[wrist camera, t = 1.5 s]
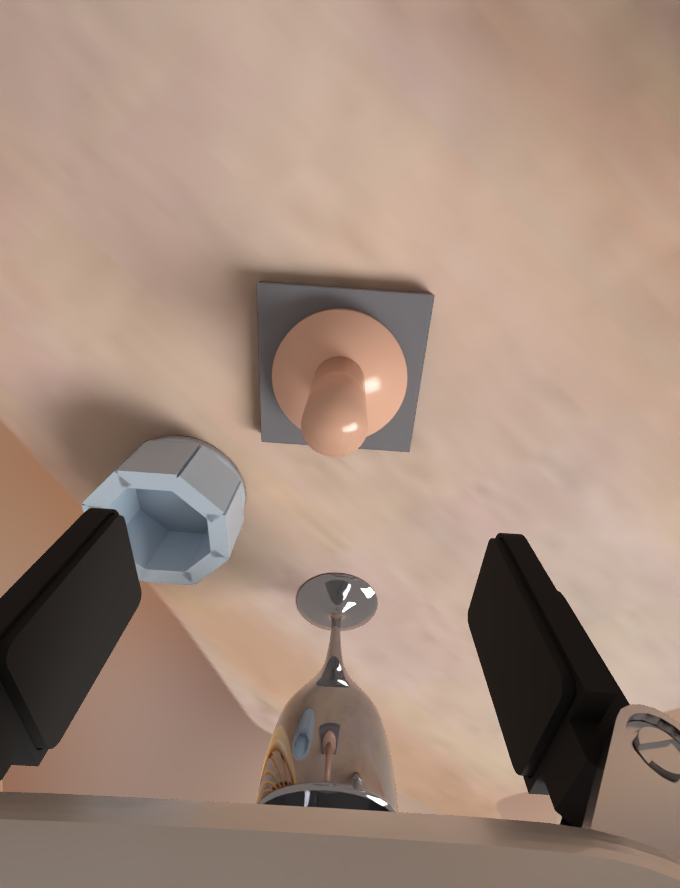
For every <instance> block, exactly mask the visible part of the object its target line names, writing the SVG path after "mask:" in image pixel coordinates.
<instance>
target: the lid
mask: <svg viewBox="0 0 680 888" xmlns="http://www.w3.org/2000/svg"><path fill="white" fill-rule="evenodd" d="M272 385H273V390H274V394H275V397H276V399H277V402H278V404H279V406H280V408H281V409H282V411H283V412H284V414H285V415H286V416H287V418H288V419H289V420H290V421H291V422H292V423H293V424H294V425H296V426H297V427H298V428H299V429H301V432H302V435H303V438H304V440H305V441H306V443H307V444H308V445H309V446H310V447H311V448H312V449H313V450H315V451H316V452H318V453H320V454H323V455H326V456H331V457H339V456H344V455H347V454H350V453H352V452H354V451H355V450H357V449H358V448H359V447H360V446H361V445H362V443H363V442H364V440H365V438H366V437H367V436H369V435H371V434H373V433H375V432H377V431H378V430H380V429H381V428H383V427H384V426H385V425H386V424H387V423H388V422H389V421H390V420H391V419H392V418H393V417H394V415H395V414H396V412H397V411H398V410H399V408H400V406H401V404H402V402H403V399H404V396H405V392H406V388H407V367H406V362H405V358H404V355H403V352H402V350H401V348H400V346H399V344H398V342H397V340H396V338H395V337H394V335H393V334H392V332H391V331H390V330H389V329H388V328H387V327H386V326H385V325H384V324H383V323H381V322H380V321H379V320H378V319H376V318H374V317H373V316H371V315H369V314H367V313H364V312H362V311H359V310H355V309H350V308H330V309H324V310H321V311H317V312H315V313H313V314H310V315H308V316H307V317H305V318H304V319H302V320H301V321H299V322H298V323H297V324H296V325H295V326H294V327H293V328H292V329H291V330H290V331H289V332H288V334H287V335H286V336H285V338H284V339H283V341H282V342H281V344H280V346H279V348H278V350H277V352H276V355H275V358H274V362H273V367H272Z"/></svg>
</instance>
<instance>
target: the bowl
mask: <svg viewBox="0 0 680 888" xmlns="http://www.w3.org/2000/svg"><path fill="white" fill-rule="evenodd" d="M82 503H83V504H82V508H83V512H85V511H87V510H88V509H89V508H105V509H115V510H117V512H118V513H119V515H122V516H123V517H124V518H125V521H126V526H127V530H128V535H129V539H130V543H131V548H132V552H133V557H134V561H135V565H136V570H137V574H138V579H139V580H140V579H142V582H155V583H169V584H183V585H193V583H194V584H196V583H198V582H199V581H201V580H202V579H203V578H205V577H206V576H207V575H209V574H210V573H211V572H213V571H214V570H215V569H217V568H218V567H220V566H221V565H222V564H224V563H225V562H226V561H228V559H229V557H230V555H231V552H232V550H233V547H234V545H235V542H236V540H237V537H238V535H239V532H240V530H241V527H242V525H243V522H244V507H245V504H246V487H245V483H244V480H243V478H242V476H241V473H240V472H239V470H238V468H237V467H236V466H235V464H234V463H233V462H232V461H231V460H230V459H229V458H228V457H227V456H226V455H225V454H224V453H223V452H221V451H220V450H219V449H217V448H215V447H214V446H212V445H210V444H208V443H206V442H204V441H201V440H198V439H195V438H191V437H186V436H164V437H160V438H156V439H153V440H148V441H147V442H146V441H145V442H144V443H143V444H142V445H141V446H140V447H139V448H138V449H137V450H136V451H135V452H134V453H133V454H132V455H131V456H130V457H129V458H128V459H127V460H125V461H124V462H123V463H122V464H121V465H120V466H119V467H118V468H117V469H116V470H115V471H114V472H113V473H112V474H111V475H110V476H109V477H108V478H107V479H106V480H105V481H104V482H103V483H102V484H101V485H100V486H99V487H98V488H97V489H96V490H95V491H94V492H93V493H92V494H91V495H90V496H89V497H88V498H87V499H86V500H85V501H83V502H82Z"/></svg>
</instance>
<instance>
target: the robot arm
mask: <svg viewBox="0 0 680 888" xmlns="http://www.w3.org/2000/svg"><path fill="white" fill-rule="evenodd" d="M140 600H141V587H140V583H139V579H138V574H137V570H136V565H135V561H134V557H133V552H132V548H131V543H130V539H129V535H128V530H127V526H126V521H125V518H124V517H123V516H122V515H119V513H118V512H117V510H115V509H105V508H89V509H88V510H87V511H85V512H84V513H83V514H82V516H80V517H79V518H78V519H77V521H76V522H75V523H74V524H73V525H72V526H71V527H70V528H69V529H68V530H67V531H66V532H65V533H64V534H63V535H62V536H61V537H60V538H59V539H58V540H57V541H56V542H55V543H54V544H53V545H52V546H51V547H50V548H49V549H48V550H47V551H46V552H45V553H44V554H43V555H42V556H41V557H40V558H39V559H38V560H37V561H36V563H34V564H33V565H32V566H31V568H30V569H28V571H27V572H26V573H25V574H24V575H23V576H22V577H21V578H20V579H19V580H18V581H17V582H16V583H15V584H14V585H13V586H12V587H11V588H10V589H9V590H8V591H7V592H6V593H5V594H4V595H3V596H2V597H1V598H0V888H680V723H679V722H677V721H676V720H674V719H673V718H672V717H670V716H669V715H667V714H665V713H663V712H661V711H659V710H657V709H655V708H652V707H648V706H644V705H641V704H639V705H630V704H629V703H628V701H627V699H626V698H625V696H624V694H623V693H622V691H621V689H620V688H619V686H618V684H617V683H616V681H615V680H614V678H613V676H612V675H611V673H610V671H609V670H608V668H607V666H606V665H605V663H604V661H603V660H602V658H601V656H600V655H599V653H598V652H597V650H596V648H595V647H594V645H593V643H592V642H591V640H590V638H589V637H588V635H587V633H586V632H585V630H584V628H583V627H582V625H581V624H580V622H579V620H578V619H577V617H576V615H575V614H574V612H573V610H572V609H571V607H570V605H569V604H568V602H567V600H566V599H565V597H564V596H563V595H562V594H561V593H560V592H559V591H557V590H556V588H555V586H554V585H553V583H552V581H551V580H550V578H549V576H548V575H547V573H546V571H545V570H544V568H543V566H542V565H541V563H540V561H539V560H538V558H537V556H536V554H535V553H534V551H533V549H532V548H531V546H530V544H529V543H528V541H527V539H526V538H525V537H524V536H523V535H521V534H507V533H499V534H498V535H497V536H496V538H491V539H490V540H489V542H488V546H487V549H486V553H485V556H484V559H483V563H482V566H481V569H480V573H479V576H478V580H477V583H476V586H475V590H474V593H473V597H472V600H471V603H470V607H469V610H468V624H469V628H470V631H471V634H472V637H473V640H474V644H475V647H476V650H477V653H478V656H479V660H480V663H481V666H482V669H483V672H484V676H485V679H486V682H487V685H488V688H489V692H490V695H491V698H492V701H493V704H494V708H495V711H496V714H497V717H498V720H499V724H500V727H501V730H502V733H503V736H504V740H505V743H506V746H507V749H508V752H509V756H510V759H511V762H512V765H513V768H514V770H515V772H516V773H517V774H518V775H523V777H524V780H525V783H526V786H527V789H528V792H529V794H544V795H550V798H551V800H552V803H553V806H554V809H555V811H556V812H557V813H558V816H557V819H556V822H555V824H551V823H541V822H529V821H517V820H505V819H492V818H480V817H468V816H453V815H435V814H420V813H403V812H387V811H370V810H354V809H338V808H320V807H302V806H284V805H266V804H248V803H230V802H211V801H192V800H174V799H153V798H134V797H113V796H93V795H73V794H53V793H22V792H3V789H2V779H3V777H4V776H5V774H6V773H7V771H8V769H9V768H10V766H11V765H25V766H39V764H40V762H41V761H42V759H43V757H44V756H45V754H46V752H47V751H48V749H52V748H54V747H55V746H56V745H57V744H58V743H59V741H60V740H61V738H62V737H63V735H64V733H65V731H66V730H67V728H68V726H69V725H70V723H71V721H72V720H73V718H74V716H75V714H76V712H77V711H78V709H79V708H80V706H81V704H82V702H83V701H84V699H85V697H86V695H87V694H88V692H89V690H90V689H91V687H92V685H93V683H94V682H95V680H96V678H97V676H98V675H99V673H100V671H101V669H102V668H103V666H104V664H105V663H106V661H107V659H108V657H109V656H110V654H111V652H112V650H113V649H114V647H115V645H116V643H117V642H118V640H119V638H120V637H121V635H122V633H123V631H124V630H125V628H126V626H127V625H128V623H129V621H130V620H131V618H132V616H133V614H134V612H135V611H136V609H137V607H138V605H139V603H140Z"/></svg>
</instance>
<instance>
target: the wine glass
mask: <svg viewBox="0 0 680 888" xmlns="http://www.w3.org/2000/svg"><path fill="white" fill-rule="evenodd" d="M377 605H378V603H377V597H376V594H375V592H374V590H373V589H372V588H371V587H370V586H369V585H368V584H367V583H366V582H364V581H363V580H361V579H359V578H357V577H354V576H352V575H347V574H341V573H329V574H323V575H320V576H317V577H314V578H312V579H310V580H309V581H308V582H306V583H305V584H304V585H303V586H302V587H301V589H300V590H299V592H298V595H297V606H298V609H299V611H300V613H301V615H302V616H303V617H304V618H305V619H306V620H307V621H308V622H310V623H311V624H313V625H315V626H317V627H319V628H322V629H326V630H331V635H330V642H329V647H328V652H327V657H326V660H325V663H324V665H323V667H322V668H321V670H320V671H319V673H318V674H317V675H316V676H315V677H314V678H313V679H312V680H311V681H309V682H308V683H307V684H306V685H305V686H304V687H302V688H301V689H300V690H299V691H298V692H297V693H295V694H294V695H293V697H292V698H291V699H290V700H289V701H288V702H287V704H286V705H285V707H284V709H283V711H282V713H281V715H280V717H279V719H278V722H277V724H276V727H275V729H274V732H273V735H272V738H271V741H270V744H269V747H268V751H267V754H266V757H265V760H264V765H263V769H262V775H261V779H260V783H259V788H258V795H257V800H256V804H266V805H284V806H302V807H320V808H338V809H354V810H370V811H387V812H398V807H397V793H396V784H395V775H394V766H393V761H392V756H391V751H390V746H389V742H388V738H387V735H386V731H385V727H384V724H383V721H382V719H381V716H380V714H379V711H378V709H377V708H376V706H375V705H374V703H373V702H372V701H371V699H370V698H369V697H368V695H367V694H366V693H365V692H364V691H363V690H362V689H361V688H360V687H359V686H358V685H357V684H356V683H355V682H354V681H353V680H352V679H351V677H350V676H349V674H348V673H347V671H346V669H345V667H344V664H343V660H342V652H341V640H340V631H346V630H352V629H355V628H358V627H360V626H362V625H364V624H365V623H367V622H368V621H369V620H370V619H371V618H372V617H373V616H374V614H375V612H376V610H377Z"/></svg>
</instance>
